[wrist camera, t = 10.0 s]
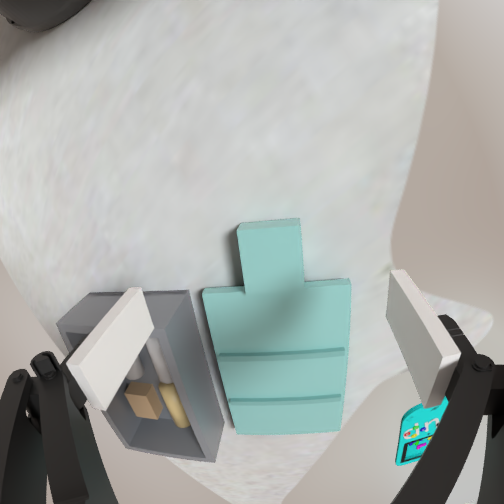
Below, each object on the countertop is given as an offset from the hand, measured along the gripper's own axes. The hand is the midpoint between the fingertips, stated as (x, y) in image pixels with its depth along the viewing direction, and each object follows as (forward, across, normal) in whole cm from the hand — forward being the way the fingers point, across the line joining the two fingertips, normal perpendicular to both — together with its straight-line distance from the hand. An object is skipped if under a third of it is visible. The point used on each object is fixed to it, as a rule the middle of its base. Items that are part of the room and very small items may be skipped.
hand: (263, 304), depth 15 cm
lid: (+9, 0, -10) cm, 13 cm away
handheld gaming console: (+9, +19, -29) cm, 36 cm away
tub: (+9, -13, -13) cm, 20 cm away
